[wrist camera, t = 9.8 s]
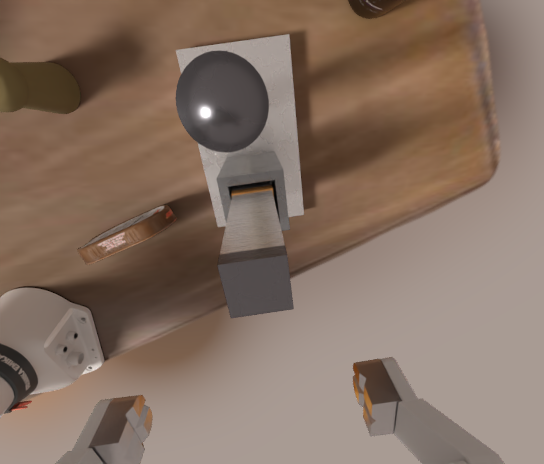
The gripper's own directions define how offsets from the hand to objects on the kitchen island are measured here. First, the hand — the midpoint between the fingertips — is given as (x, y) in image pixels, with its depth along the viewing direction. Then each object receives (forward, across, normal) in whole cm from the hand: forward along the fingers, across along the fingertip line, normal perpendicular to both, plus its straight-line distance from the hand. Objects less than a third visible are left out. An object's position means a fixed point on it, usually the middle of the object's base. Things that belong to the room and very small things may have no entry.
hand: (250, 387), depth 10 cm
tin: (+35, -20, -5) cm, 41 cm away
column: (+26, 0, 0) cm, 26 cm away
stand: (+35, 0, +5) cm, 35 cm away
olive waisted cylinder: (+35, -24, +15) cm, 45 cm away
